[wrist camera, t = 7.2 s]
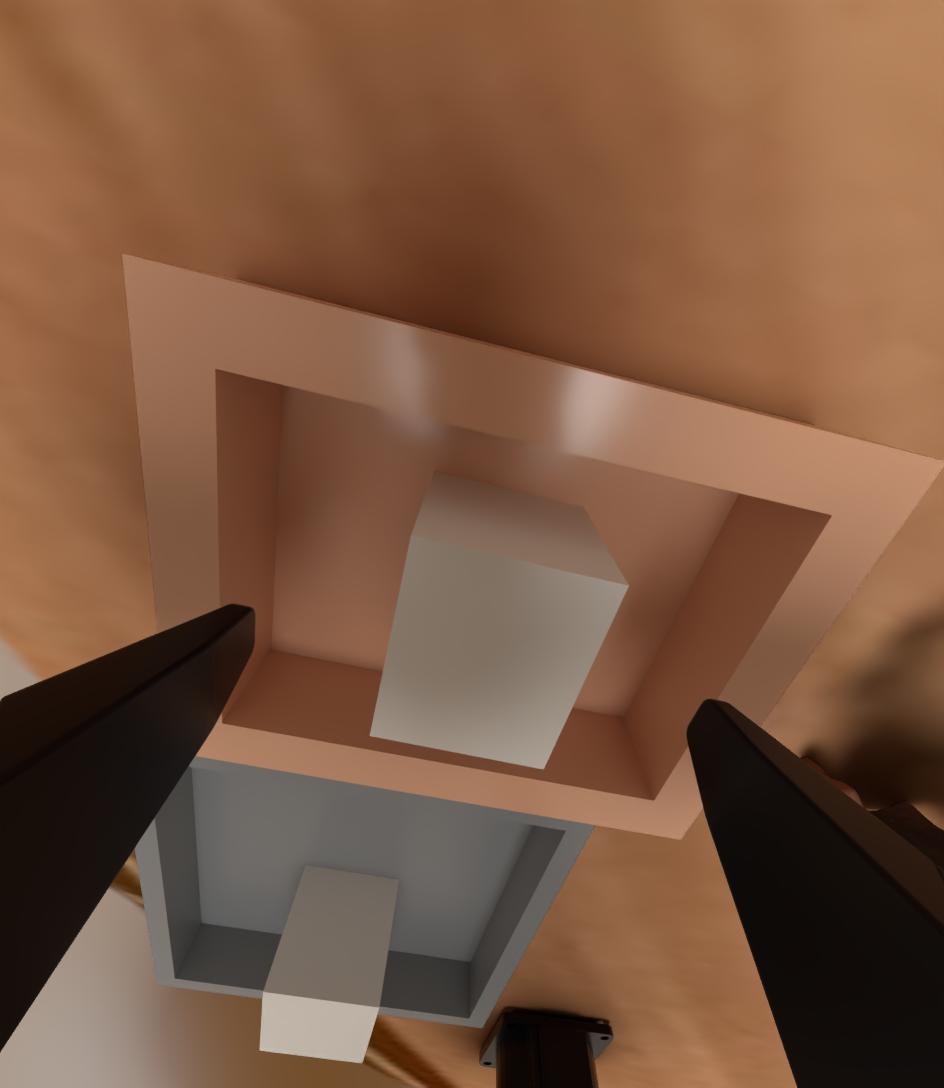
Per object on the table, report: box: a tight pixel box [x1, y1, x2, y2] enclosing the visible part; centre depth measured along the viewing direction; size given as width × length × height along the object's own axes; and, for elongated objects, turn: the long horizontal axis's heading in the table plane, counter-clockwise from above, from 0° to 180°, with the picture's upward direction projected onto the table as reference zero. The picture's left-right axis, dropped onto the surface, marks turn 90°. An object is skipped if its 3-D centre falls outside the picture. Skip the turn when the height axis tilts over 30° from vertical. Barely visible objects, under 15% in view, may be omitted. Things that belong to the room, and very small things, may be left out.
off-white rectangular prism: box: [260, 865, 399, 1063], centre depth 18 cm, size 5×4×4 cm
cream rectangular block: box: [370, 471, 629, 770], centre depth 11 cm, size 5×4×4 cm
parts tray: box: [135, 756, 595, 1028], centre depth 18 cm, size 16×15×3 cm
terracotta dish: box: [122, 253, 944, 840], centre depth 11 cm, size 11×14×4 cm
